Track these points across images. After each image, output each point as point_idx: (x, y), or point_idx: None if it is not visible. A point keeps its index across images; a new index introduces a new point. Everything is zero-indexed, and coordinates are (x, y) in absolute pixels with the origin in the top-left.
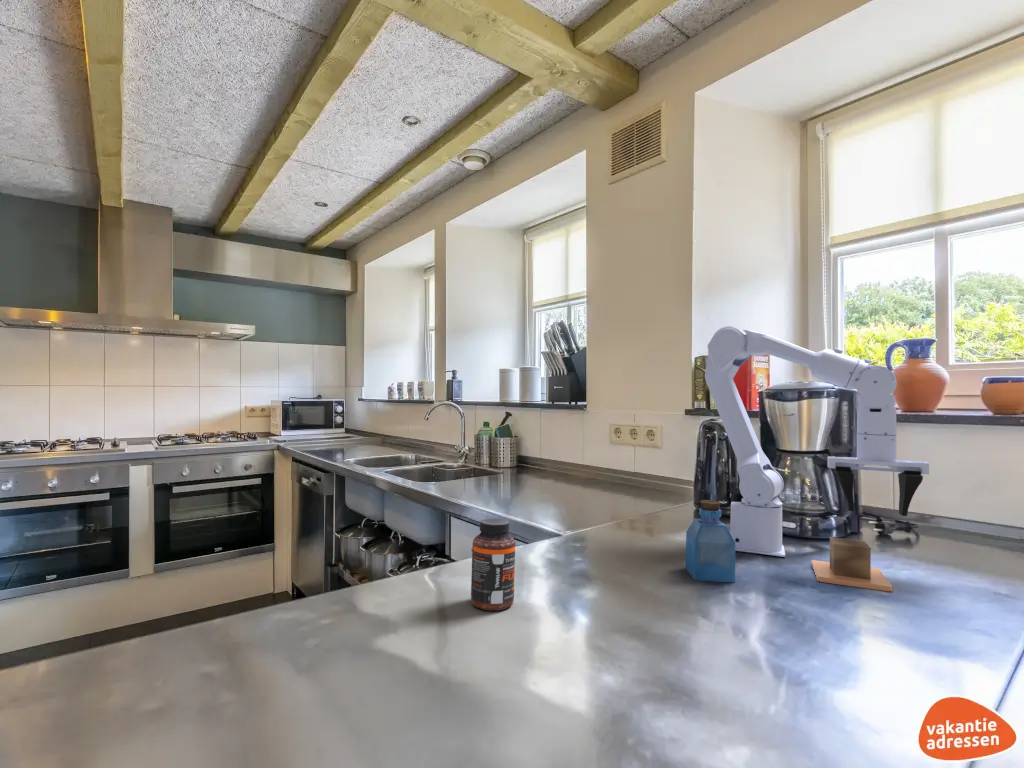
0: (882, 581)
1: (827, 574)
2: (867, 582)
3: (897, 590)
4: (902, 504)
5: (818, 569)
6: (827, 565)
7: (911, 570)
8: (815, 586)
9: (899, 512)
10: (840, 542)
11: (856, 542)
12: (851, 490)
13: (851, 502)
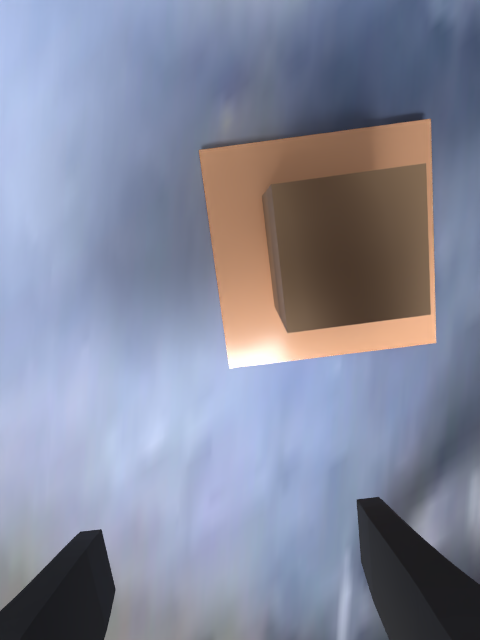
0: (226, 199)
1: None
2: (273, 149)
3: (186, 188)
4: (72, 594)
5: None
6: None
7: (136, 463)
8: (433, 52)
9: (111, 591)
10: (393, 217)
11: (323, 267)
12: (436, 595)
13: (390, 526)
